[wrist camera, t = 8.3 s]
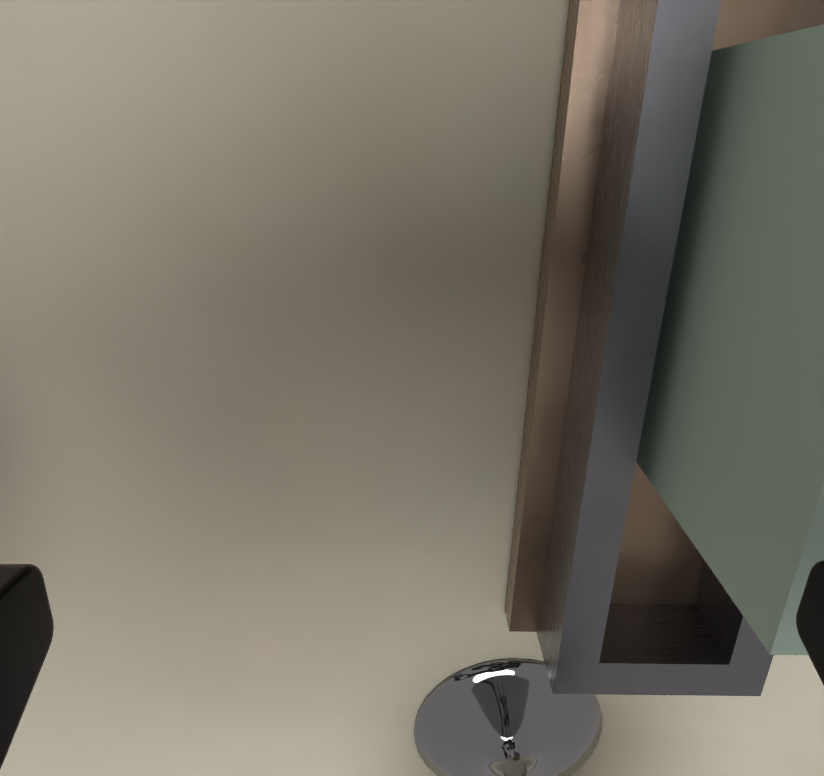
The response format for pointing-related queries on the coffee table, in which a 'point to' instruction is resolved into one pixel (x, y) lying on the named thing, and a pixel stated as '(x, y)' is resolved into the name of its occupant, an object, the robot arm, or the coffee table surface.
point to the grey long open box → (622, 363)
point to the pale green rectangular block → (749, 335)
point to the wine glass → (505, 723)
